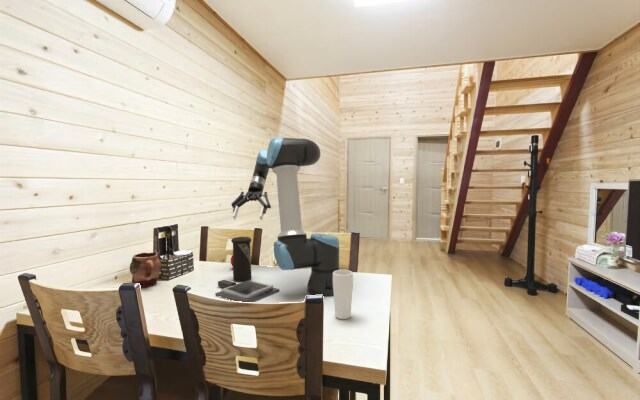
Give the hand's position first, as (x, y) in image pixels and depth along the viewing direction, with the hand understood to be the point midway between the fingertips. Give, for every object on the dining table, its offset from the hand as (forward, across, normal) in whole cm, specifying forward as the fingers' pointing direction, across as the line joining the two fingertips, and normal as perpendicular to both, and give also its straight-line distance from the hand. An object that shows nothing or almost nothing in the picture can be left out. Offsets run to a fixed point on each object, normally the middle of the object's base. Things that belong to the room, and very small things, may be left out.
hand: (247, 218), depth 158 cm
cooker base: (+38, -6, -1) cm, 38 cm away
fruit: (+13, +8, -27) cm, 31 cm away
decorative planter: (+36, +39, -4) cm, 53 cm away
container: (+26, 0, -13) cm, 30 cm away
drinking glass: (+52, -50, +14) cm, 73 cm away
